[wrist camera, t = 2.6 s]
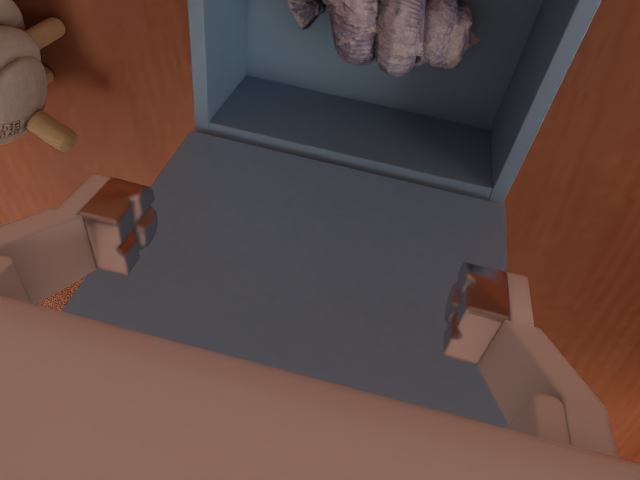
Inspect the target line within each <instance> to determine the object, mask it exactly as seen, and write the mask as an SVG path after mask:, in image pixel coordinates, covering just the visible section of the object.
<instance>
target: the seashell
mask: <svg viewBox="0 0 640 480" xmlns="http://www.w3.org/2000/svg"><path fill="white" fill-rule="evenodd" d="M287 3H288V6H289V9H290V11H291V12H292V14H293V16H294V18H295V21H296V23H297V26H298V27H299V29H301V30H305V29H308V28H309V27H310V26H311V25H312V24H313V22H314V21H315V20H316V18H317V17H318V16H319V15H320V14H321V13H324V12H325V10H326V11H327V12H328V14H329V16H330V22H331V27H332V32H333V39H334V45H335V49H336V51H337V54H338V56H339V58H340V59H341V60H342V61H344V62H346V63H348V64H350V65H353V66H363V65H369V64H370V63H371V62H373V60H374V59H375V60H376V62H377V63H378V66H379V68H380V70H381V71H383V72H384V73H386V74H388V75H389V76H392V77H402V76H405V75H408V74H410V73H411V72H412V71H413V70H414V68H415V67H420V66H422V65H424V64H427V63H429V64H430V65H431V66H433V67H435V68H437V69H438V68H440V67H443V68H445V69H453V68H455V67H456V66H457V65H458V64H459V63H460V61H461V60H462V56H463V54H464V53H465V51H466V50H467V49H469V48H471V47H473V46H475V45H477V44H478V43H479V41H480V39H479V38H478V37H477V36H476V35H475V31H474V28H473V27H472V24H473V14H472V10H471V6H470V5H469V4H468V3H467V2H465V1H460V0H287Z"/></svg>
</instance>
